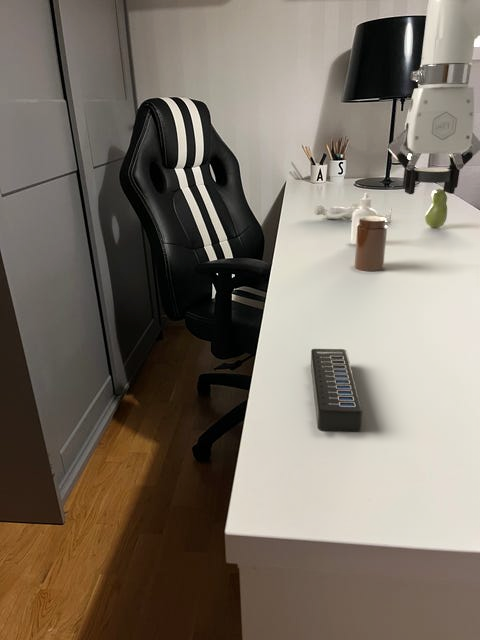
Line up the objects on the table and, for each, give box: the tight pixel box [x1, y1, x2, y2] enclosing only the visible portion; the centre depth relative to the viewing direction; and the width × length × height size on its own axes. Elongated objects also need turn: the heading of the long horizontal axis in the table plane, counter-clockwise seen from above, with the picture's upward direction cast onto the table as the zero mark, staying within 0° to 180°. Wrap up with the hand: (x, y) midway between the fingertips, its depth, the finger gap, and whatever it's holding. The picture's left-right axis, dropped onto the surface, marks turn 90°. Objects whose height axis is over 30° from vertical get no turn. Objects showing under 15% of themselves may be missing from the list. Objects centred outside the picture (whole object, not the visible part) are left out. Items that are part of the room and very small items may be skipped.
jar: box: [353, 216, 388, 272], centre depth 101 cm, size 6×6×10 cm
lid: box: [415, 167, 451, 184], centre depth 86 cm, size 6×6×2 cm
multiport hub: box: [310, 348, 363, 433], centre depth 57 cm, size 4×14×2 cm, turn 175°
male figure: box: [313, 203, 393, 224], centre depth 145 cm, size 10×4×22 cm
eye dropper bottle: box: [350, 192, 378, 246], centre depth 118 cm, size 4×6×12 cm
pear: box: [424, 188, 448, 228], centre depth 133 cm, size 6×5×10 cm
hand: (429, 191), depth 87 cm, fingers closed on lid, 6 cm apart
